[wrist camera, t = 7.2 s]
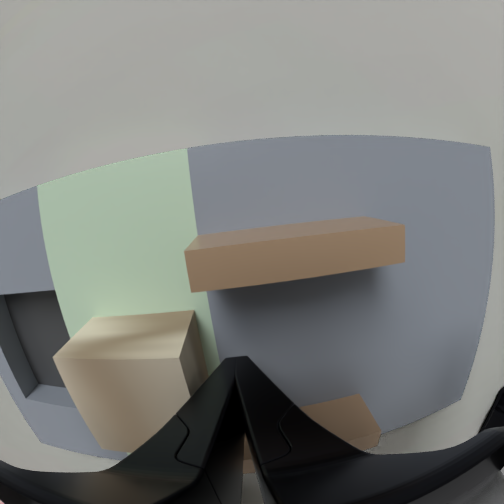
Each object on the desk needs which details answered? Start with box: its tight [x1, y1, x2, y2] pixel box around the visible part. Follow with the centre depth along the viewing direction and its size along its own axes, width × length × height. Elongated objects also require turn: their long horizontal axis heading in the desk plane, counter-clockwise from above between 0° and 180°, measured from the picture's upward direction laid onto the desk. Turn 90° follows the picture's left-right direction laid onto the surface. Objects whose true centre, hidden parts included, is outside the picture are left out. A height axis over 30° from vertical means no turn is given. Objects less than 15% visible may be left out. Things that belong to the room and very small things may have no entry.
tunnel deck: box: [0, 135, 495, 474], centre depth 9 cm, size 26×14×4 cm, turn 97°
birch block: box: [53, 310, 209, 453], centre depth 8 cm, size 4×4×3 cm
